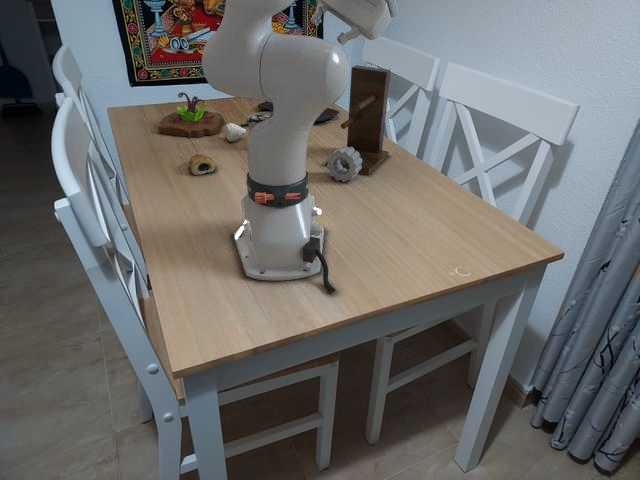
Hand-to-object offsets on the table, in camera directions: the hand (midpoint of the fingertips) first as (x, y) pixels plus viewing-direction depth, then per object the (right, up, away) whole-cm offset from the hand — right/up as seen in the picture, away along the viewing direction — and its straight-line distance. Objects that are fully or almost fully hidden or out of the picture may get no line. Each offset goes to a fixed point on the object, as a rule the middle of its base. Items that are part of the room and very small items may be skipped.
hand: (326, 32), depth 101 cm
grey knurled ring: (+5, -31, +17) cm, 35 cm away
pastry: (-33, -28, +20) cm, 48 cm away
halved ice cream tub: (-16, -19, +34) cm, 42 cm away
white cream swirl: (-27, -16, +38) cm, 49 cm away
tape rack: (+10, -24, +27) cm, 37 cm away
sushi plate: (-14, -5, +56) cm, 58 cm away
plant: (-44, -10, +47) cm, 65 cm away
